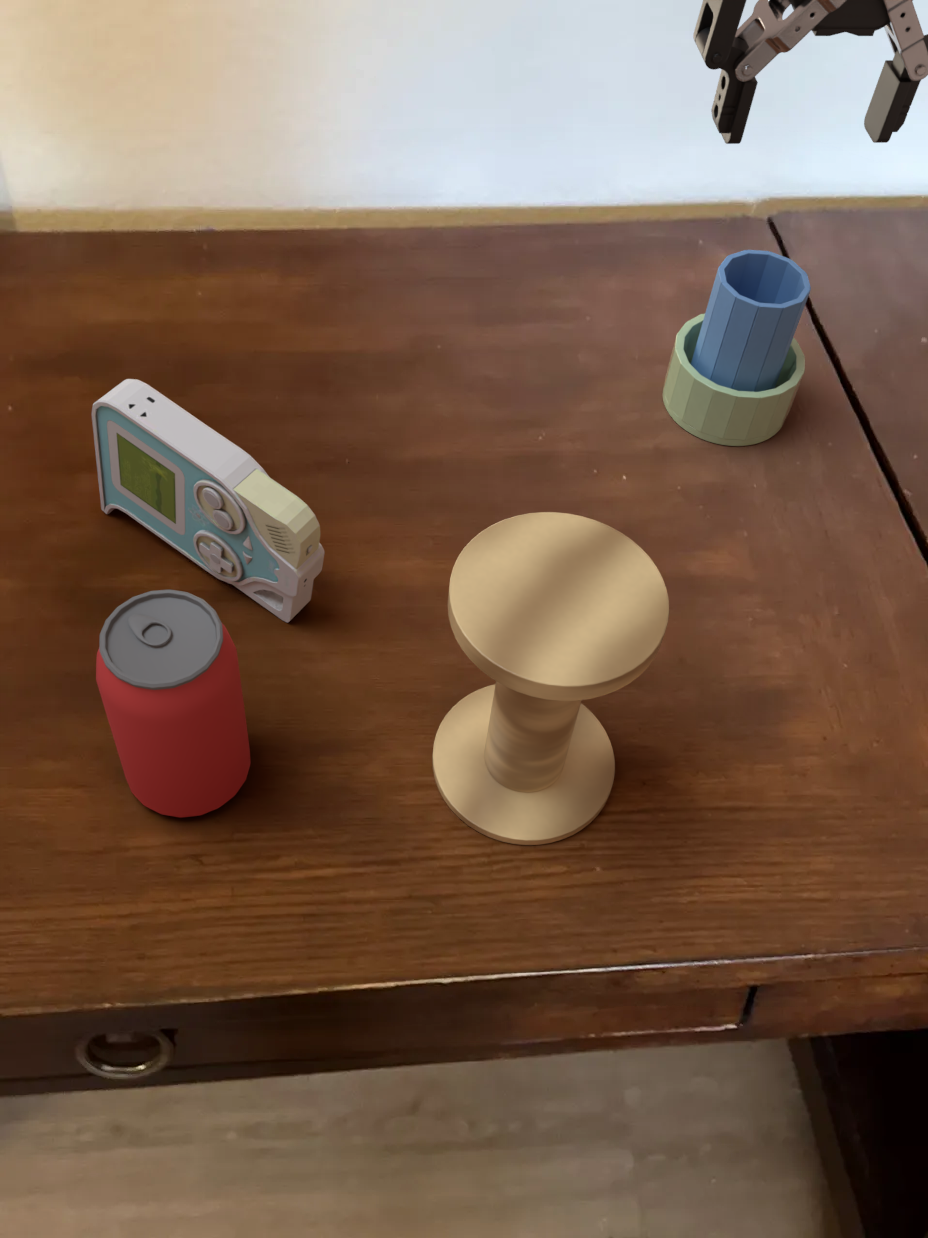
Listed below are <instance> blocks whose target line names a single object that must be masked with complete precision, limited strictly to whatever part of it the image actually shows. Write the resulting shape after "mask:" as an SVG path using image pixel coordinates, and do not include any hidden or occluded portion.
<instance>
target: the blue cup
mask: <svg viewBox="0 0 928 1238" xmlns="http://www.w3.org/2000/svg"><path fill="white" fill-rule="evenodd" d="M809 279H810V278H809V275H808V274H807V272H806V271H805V270H804V269H803V268H802V267H800V265H798V264H797V263H796V262H795V261H794V259H791V258H788V257H787V256H784V255H781V254H778V253H776V252H773V251H771V250H770V251H769V250H759V249H743V250H741V251H737V252H735V253H731V254H728V255H727V256H726V257H725V258H724V260H723V261H722V262H721V263H720V265H719V266H718V268H717V271H716V275H715V278H714V281H713V285H712V288H711V291H710V292H711V293H710V295H709V299H708V302H707V306H706V309H705V312H704V313H705V316H704V319H703V323H702V326H701V330H700V333H699V337H698V340H697V344H696V347H695V351H694V354H693V358H692V361H691V365H692V366H693V367H694V368H695V369H696V370H697V371H698V372H699V373H700V375H702V376H704V377H705V378H707V379H709V380H711V381H712V382H714V383H716V384H717V385H720V386H724V387H727V388H731V389H734V390H737V391H751V392H760V391H765V390H770V389H775V386H776V383H777V381H778V378H779V375H780V372H781V370H782V367H783V364H784V361H785V359H786V356H787V353H788V350H789V348H790V345H791V342H792V339H793V338H795V334H796V331H797V330H798V329H797V328H798V327H799V326H798V325H799V323H800V320H801V317H802V315H803V312H804V309H805V306H806V303H807V302H808V298H809V295H810V293H811V290H812V289H811V287H812V286H811V284H810V280H809Z"/></svg>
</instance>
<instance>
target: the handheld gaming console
mask: <svg viewBox="0 0 928 1238" xmlns="http://www.w3.org/2000/svg"><path fill="white" fill-rule="evenodd" d="M91 422H92V431H93V442H94V450H95V461H96V471H97V481H98V490H99V499H100V509H101V511H102V512H103V513H105V515H109V514H110V513H112V512H113V511H114V510H115V509H117V510H119V511H121V512H123V513H125V514H126V515H128V516H129V517H130V518H131V519H132V520H135V521H136V522H137V523H139V524H140V525H142V526H143V527H144V528H145V529H147V530H148V531H150V533H152V534H154V535H155V536H156V537H158V538H160V539H161V540H162V541H164V542H165V543H166V544H168V545H169V546H171V547H172V548H173V549H175V550H177V552H178V553H180V554H182V555H183V556H185V557H186V558H188V559H189V560H190V561H192V562H193V563H195V564H196V565H197V566H198V567H200V568H201V569H203V570H204V571H205V572H208V573H209V574H210V575H212V576H213V577H214V578H216V579H217V580H220V581H223V582H225V583H227V584H230V585H232V586H234V587H235V588H236V589H238V590H239V591H240V592H242V593H244V594H245V595H246V596H248V597H249V598H250V599H252V600H253V601H255V602H256V603H257V604H259V605H260V606H262V608H264V609H266V610H268V612H270V613H272V614H273V615H274V616H276V618H278V619H280V620H281V621H283V622H285V623H289V622H290V621H292V620H293V619H294V617H295V616H296V615H297V614H299V613H300V612H301V610H303V609H304V607H306V605H308V603H309V602H311V600H312V595H313V587H314V580H315V579H316V577H318V576H319V574H321V572H322V571H323V565H324V560H325V549H324V547H323V545H322V544H321V543H320V540H321V533H322V532H321V525H320V523H319V520H318V518H317V516H316V514H315V513H314V512H313V510H312V509H311V508H310V506H309V505H308V504H307V503H306V502H304V500H302V499H301V498H300V497H299V496H298V495H296V494H295V493H293V492H292V491H290V490H288V489H287V488H286V487H284V486H283V485H281V484H280V483H279V482H277V481H276V480H274V479H273V478H271V477H270V476H269V474H268V473H267V472H266V470H265V468H263V467H262V466H261V465H260V464H259V462H257V460H255V458H254V457H253V456H252V455H251V454H249V453H248V452H246V451H245V450H244V449H243V448H241V447H240V446H239V445H237V444H235V443H234V442H232V441H231V440H229V439H228V438H227V437H225V436H224V435H222V434H220V433H219V432H217V431H216V430H215V429H213V428H212V427H210V426H209V425H207V424H205V423H204V422H203V421H202V420H200V419H198V418H197V417H196V416H194V415H192V414H191V413H190V412H188V411H187V410H185V408H182V407H181V406H180V405H178V404H177V403H175V402H174V401H172V400H171V399H170V398H168V397H167V396H165V395H164V394H162V392H159V391H158V390H157V389H155V388H154V387H152V386H151V385H150V384H149V383H146V382H144V381H142V380H140V379H136V378H135V379H134V378H126V379H124V380H122V381H121V382H119V384H117V385H116V386H114V387H113V388H112V389H111V390H109V391H108V392H107V393H105V394H104V395H102V397H100V398H99V399H97V400H96V401H94V402H93V404H92V408H91Z"/></svg>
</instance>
